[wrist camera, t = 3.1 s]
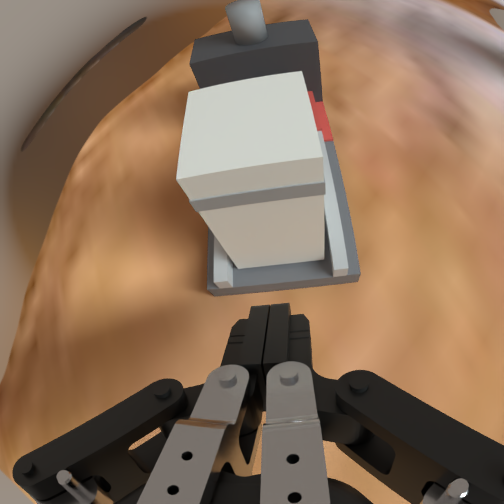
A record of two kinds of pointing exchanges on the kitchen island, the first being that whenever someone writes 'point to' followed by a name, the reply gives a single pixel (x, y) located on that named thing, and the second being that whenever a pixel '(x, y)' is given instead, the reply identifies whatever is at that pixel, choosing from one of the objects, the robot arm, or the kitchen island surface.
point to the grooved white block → (256, 169)
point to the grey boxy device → (335, 202)
